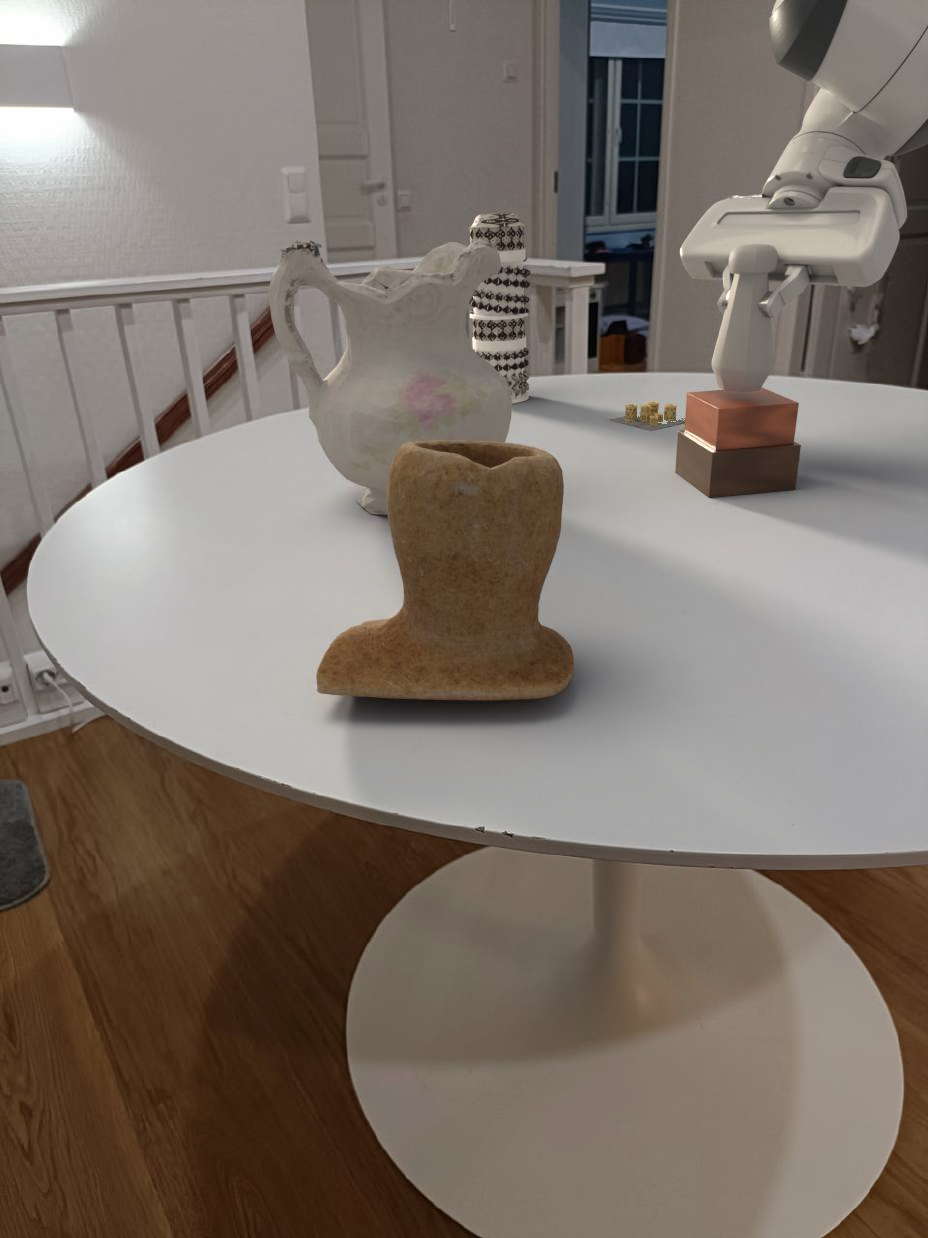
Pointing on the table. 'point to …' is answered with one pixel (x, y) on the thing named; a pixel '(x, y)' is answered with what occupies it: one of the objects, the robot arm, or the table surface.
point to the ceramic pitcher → (395, 360)
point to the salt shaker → (746, 322)
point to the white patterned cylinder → (503, 302)
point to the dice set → (649, 416)
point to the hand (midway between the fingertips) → (745, 312)
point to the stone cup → (463, 580)
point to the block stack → (738, 442)
